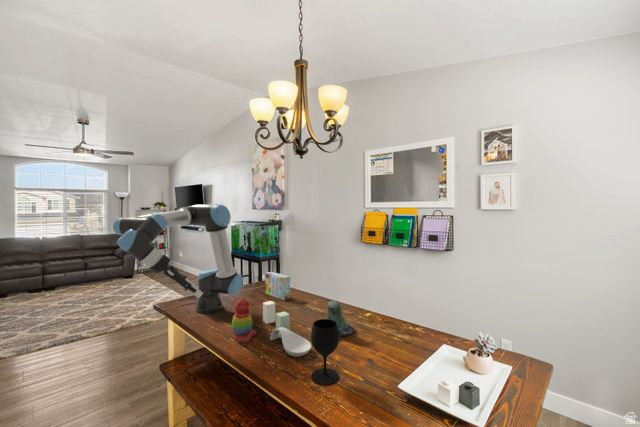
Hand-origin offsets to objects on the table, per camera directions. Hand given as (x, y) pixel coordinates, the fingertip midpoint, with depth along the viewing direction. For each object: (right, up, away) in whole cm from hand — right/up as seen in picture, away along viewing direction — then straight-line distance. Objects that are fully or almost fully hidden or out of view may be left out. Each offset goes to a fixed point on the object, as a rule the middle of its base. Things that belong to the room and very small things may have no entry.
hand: (198, 292), depth 129 cm
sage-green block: (+35, -24, +15) cm, 45 cm away
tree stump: (+61, -25, +20) cm, 69 cm away
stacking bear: (+16, -25, +12) cm, 32 cm away
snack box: (+24, -22, +72) cm, 79 cm away
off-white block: (+26, -24, +31) cm, 46 cm away
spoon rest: (+39, -26, +2) cm, 47 cm away
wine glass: (+55, -26, -19) cm, 64 cm away
